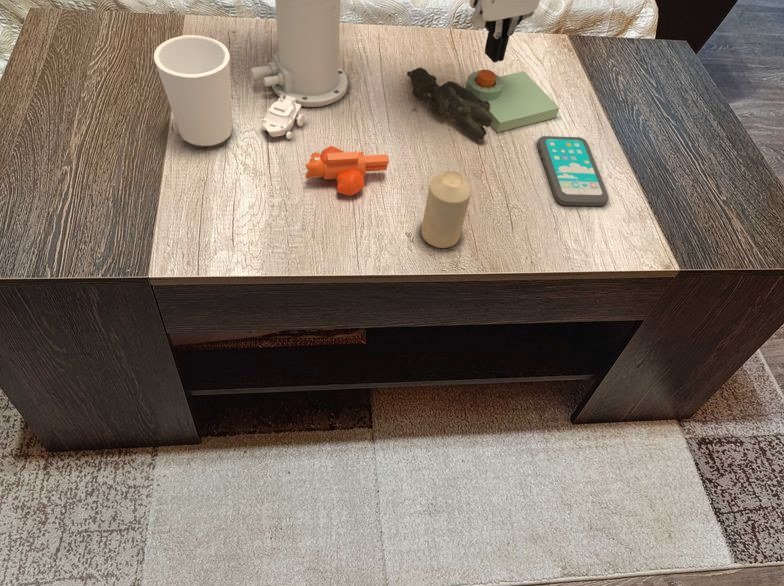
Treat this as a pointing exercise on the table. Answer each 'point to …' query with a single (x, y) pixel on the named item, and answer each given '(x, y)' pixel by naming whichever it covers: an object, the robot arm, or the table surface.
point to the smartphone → (572, 171)
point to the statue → (452, 102)
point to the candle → (445, 209)
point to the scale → (514, 100)
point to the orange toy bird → (345, 168)
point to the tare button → (486, 78)
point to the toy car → (283, 117)
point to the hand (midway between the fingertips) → (493, 56)
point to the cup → (197, 87)
